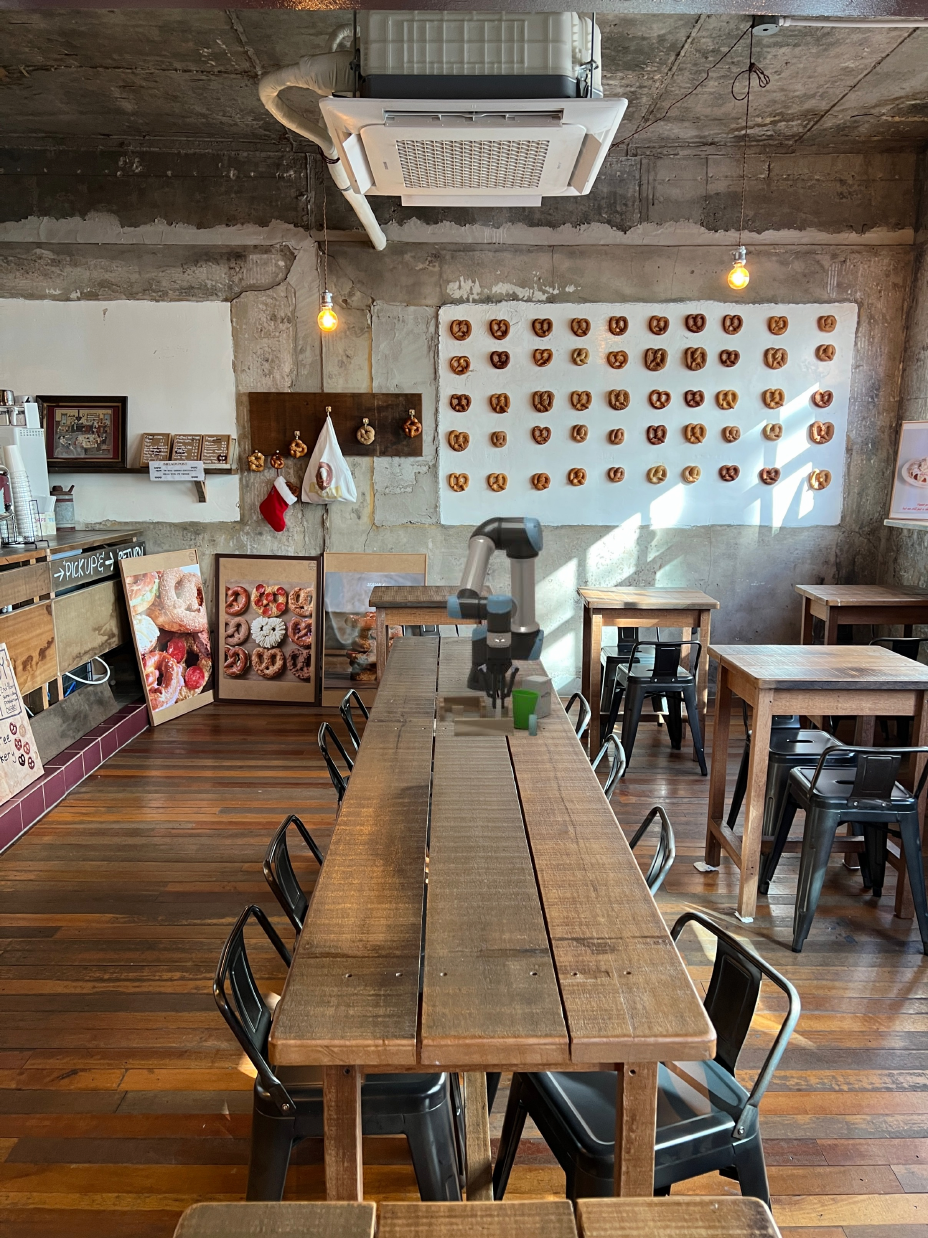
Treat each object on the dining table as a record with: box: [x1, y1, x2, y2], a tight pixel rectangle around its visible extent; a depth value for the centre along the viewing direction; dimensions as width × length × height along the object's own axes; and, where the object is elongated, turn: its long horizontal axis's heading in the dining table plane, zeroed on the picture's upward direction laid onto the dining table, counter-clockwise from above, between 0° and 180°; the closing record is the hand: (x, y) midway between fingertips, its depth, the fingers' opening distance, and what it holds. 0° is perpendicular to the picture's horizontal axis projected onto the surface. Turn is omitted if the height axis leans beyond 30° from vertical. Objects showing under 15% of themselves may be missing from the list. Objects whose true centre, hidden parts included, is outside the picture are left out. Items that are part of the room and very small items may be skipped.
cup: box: [511, 688, 540, 730], centre depth 273 cm, size 9×9×11 cm
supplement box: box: [521, 674, 552, 720], centre depth 287 cm, size 7×7×13 cm
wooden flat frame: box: [438, 695, 515, 737], centre depth 279 cm, size 28×22×5 cm
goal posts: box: [528, 714, 538, 737], centre depth 273 cm, size 17×2×6 cm, turn 3°
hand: (498, 718), depth 273 cm, fingers closed
